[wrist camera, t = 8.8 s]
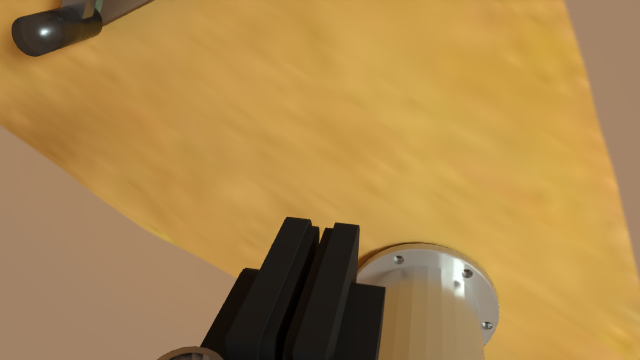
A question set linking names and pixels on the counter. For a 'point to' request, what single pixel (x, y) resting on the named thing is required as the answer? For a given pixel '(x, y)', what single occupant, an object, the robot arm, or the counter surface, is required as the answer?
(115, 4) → the crank board
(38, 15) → the grey crank handle
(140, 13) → the counter surface
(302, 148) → the counter surface
